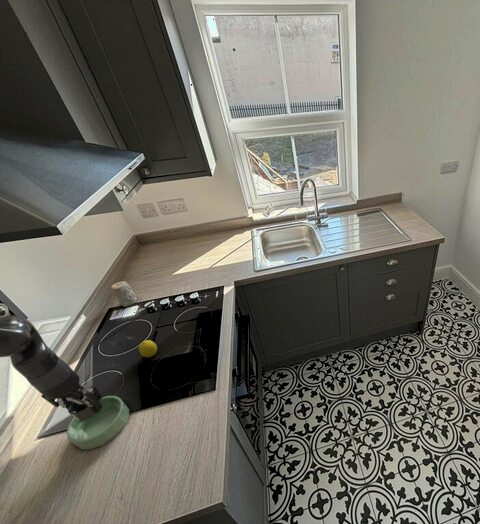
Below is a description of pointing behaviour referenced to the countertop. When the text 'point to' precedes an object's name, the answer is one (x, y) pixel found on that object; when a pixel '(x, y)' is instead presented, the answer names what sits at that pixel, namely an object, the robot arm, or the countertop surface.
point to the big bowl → (99, 424)
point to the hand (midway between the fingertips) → (88, 410)
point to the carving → (124, 293)
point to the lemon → (147, 348)
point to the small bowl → (81, 411)
